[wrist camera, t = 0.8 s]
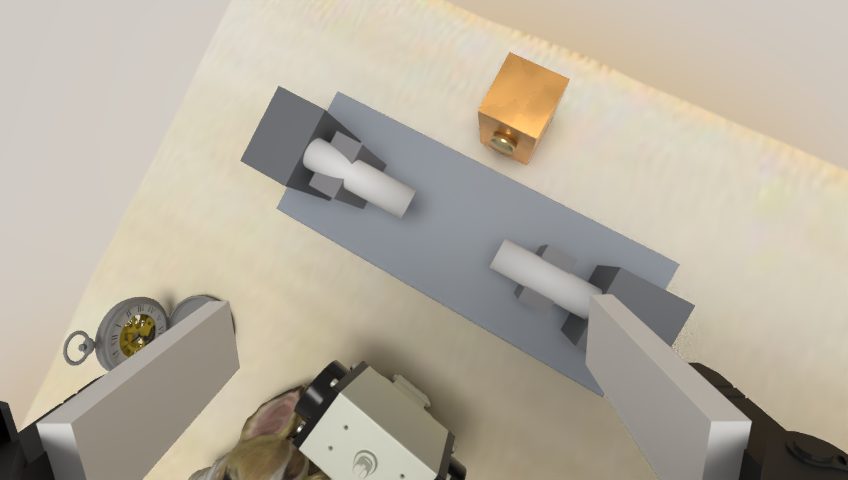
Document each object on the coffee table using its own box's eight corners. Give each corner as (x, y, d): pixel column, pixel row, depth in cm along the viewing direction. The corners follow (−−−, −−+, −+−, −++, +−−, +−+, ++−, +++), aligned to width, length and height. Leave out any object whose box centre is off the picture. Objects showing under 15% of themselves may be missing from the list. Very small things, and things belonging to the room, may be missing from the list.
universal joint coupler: (509, 90, 35) (514, 42, 27) (556, 112, 34) (575, 69, 27) (477, 149, 35) (473, 119, 28) (522, 172, 35) (531, 148, 27)
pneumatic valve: (367, 336, 36) (307, 376, 25) (473, 422, 35) (464, 510, 23) (332, 385, 37) (256, 446, 25) (435, 472, 35) (406, 584, 23)
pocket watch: (248, 342, 38) (163, 372, 28) (179, 385, 39) (74, 429, 29) (208, 268, 39) (113, 272, 29) (142, 312, 40) (29, 330, 30)
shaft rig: (673, 263, 32) (742, 267, 24) (599, 393, 33) (639, 443, 24) (341, 95, 38) (295, 46, 29) (282, 209, 38) (218, 195, 29)
